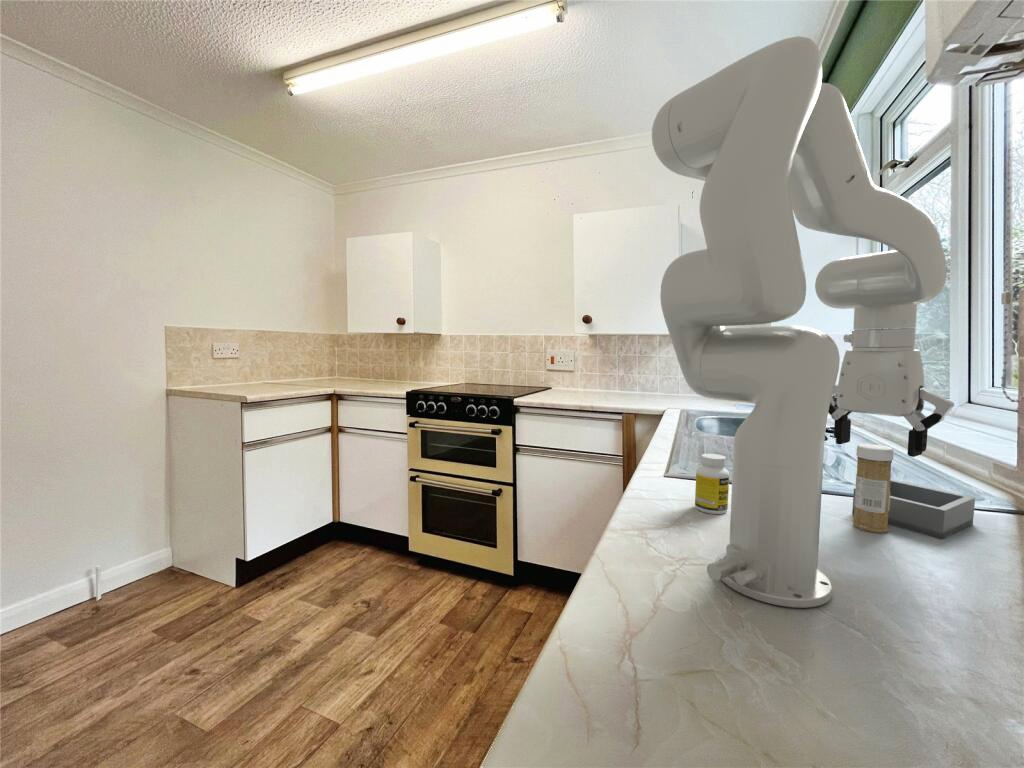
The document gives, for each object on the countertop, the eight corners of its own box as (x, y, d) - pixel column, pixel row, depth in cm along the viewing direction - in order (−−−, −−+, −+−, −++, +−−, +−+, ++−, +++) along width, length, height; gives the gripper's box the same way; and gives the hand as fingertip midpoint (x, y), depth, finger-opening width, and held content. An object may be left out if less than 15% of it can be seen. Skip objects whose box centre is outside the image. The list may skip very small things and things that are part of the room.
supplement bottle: (721, 517, 78) (724, 461, 77) (690, 509, 81) (691, 456, 80) (731, 509, 82) (734, 455, 81) (701, 502, 85) (703, 450, 84)
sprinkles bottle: (892, 529, 72) (898, 446, 71) (881, 536, 70) (887, 450, 69) (858, 520, 76) (863, 441, 75) (847, 526, 74) (852, 445, 73)
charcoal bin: (942, 539, 69) (944, 510, 68) (852, 513, 79) (853, 488, 79) (972, 524, 74) (975, 497, 74) (885, 502, 85) (886, 478, 85)
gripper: (810, 342, 76) (806, 441, 78) (946, 341, 61) (937, 465, 63) (834, 340, 80) (830, 436, 82) (967, 339, 65) (959, 457, 67)
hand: (876, 448), depth 72 cm, fingers open, 9 cm apart
